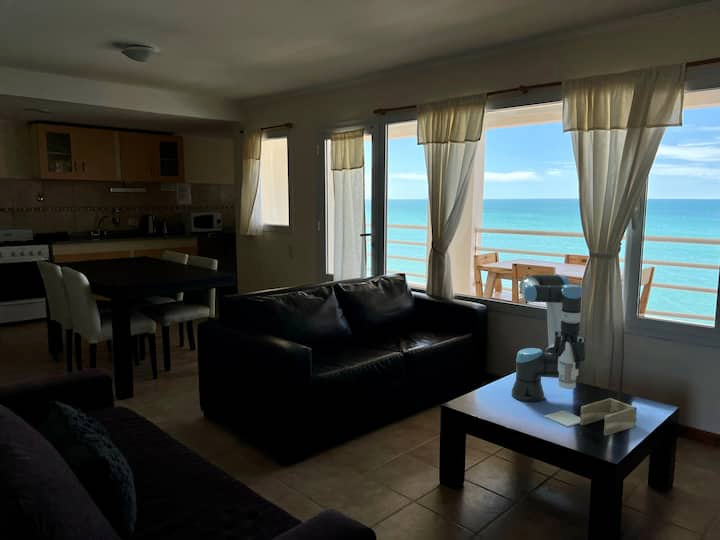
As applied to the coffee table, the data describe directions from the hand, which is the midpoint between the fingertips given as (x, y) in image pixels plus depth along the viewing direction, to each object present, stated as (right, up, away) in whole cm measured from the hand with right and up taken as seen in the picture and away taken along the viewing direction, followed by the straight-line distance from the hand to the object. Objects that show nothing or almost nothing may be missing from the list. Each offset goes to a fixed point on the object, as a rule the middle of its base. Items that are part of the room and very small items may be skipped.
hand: (567, 373), depth 221 cm
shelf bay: (+15, -21, -4) cm, 26 cm away
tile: (0, -21, +3) cm, 21 cm away
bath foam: (0, -6, +1) cm, 6 cm away
